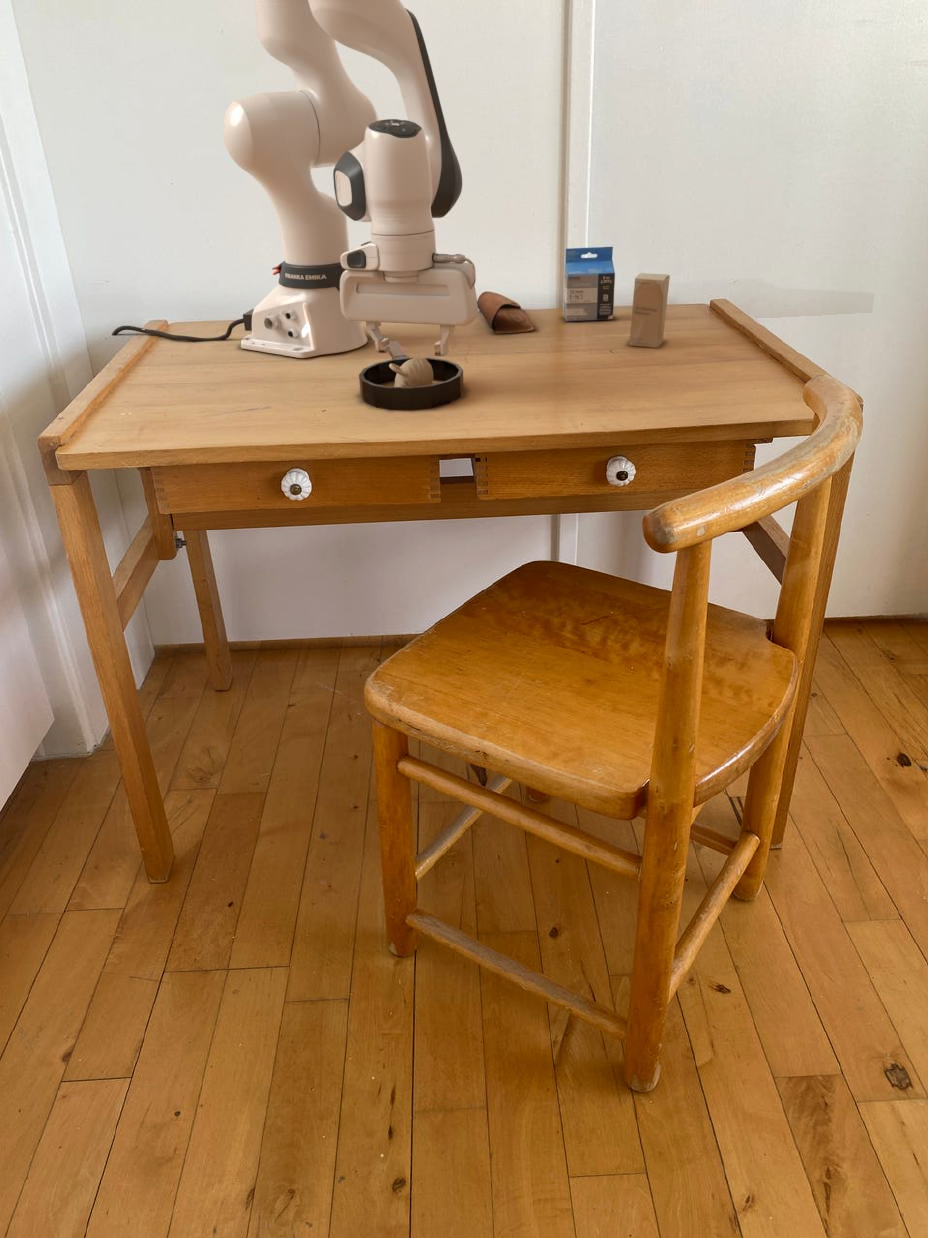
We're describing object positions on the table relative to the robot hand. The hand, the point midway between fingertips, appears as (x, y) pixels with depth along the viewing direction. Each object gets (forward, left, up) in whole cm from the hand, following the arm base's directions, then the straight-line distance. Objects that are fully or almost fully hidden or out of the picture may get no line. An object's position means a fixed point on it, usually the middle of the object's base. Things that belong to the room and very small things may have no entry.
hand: (412, 353), depth 135 cm
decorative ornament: (-1, 0, -6) cm, 6 cm away
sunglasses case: (-1, +44, -6) cm, 45 cm away
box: (+27, +35, -6) cm, 45 cm away
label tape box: (+13, +49, -6) cm, 52 cm away
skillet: (-4, +5, -6) cm, 8 cm away
